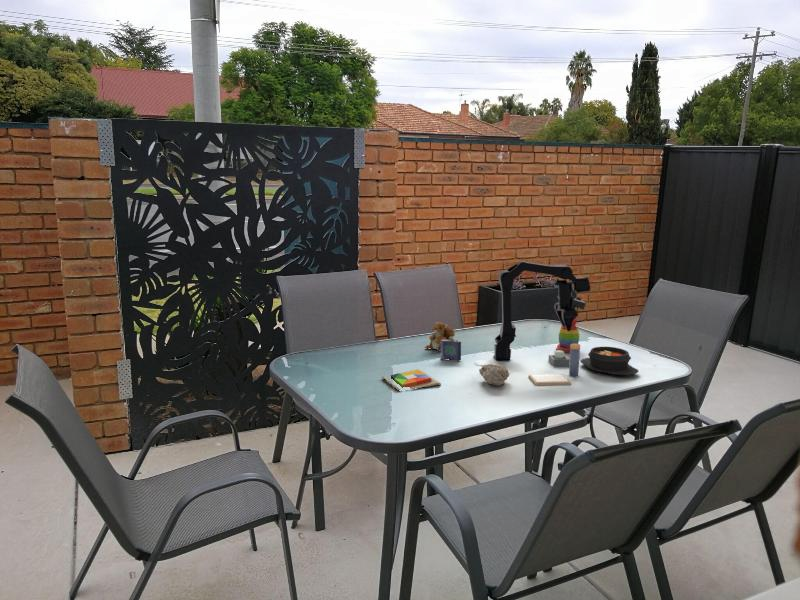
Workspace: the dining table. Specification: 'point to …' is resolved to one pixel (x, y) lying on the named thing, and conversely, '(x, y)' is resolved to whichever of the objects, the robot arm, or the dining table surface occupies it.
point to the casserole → (609, 361)
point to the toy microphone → (574, 359)
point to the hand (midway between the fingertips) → (566, 328)
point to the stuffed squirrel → (440, 335)
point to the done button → (559, 354)
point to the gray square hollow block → (558, 361)
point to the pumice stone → (494, 374)
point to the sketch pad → (550, 379)
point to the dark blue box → (451, 349)
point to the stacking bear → (568, 337)
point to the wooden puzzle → (412, 379)
